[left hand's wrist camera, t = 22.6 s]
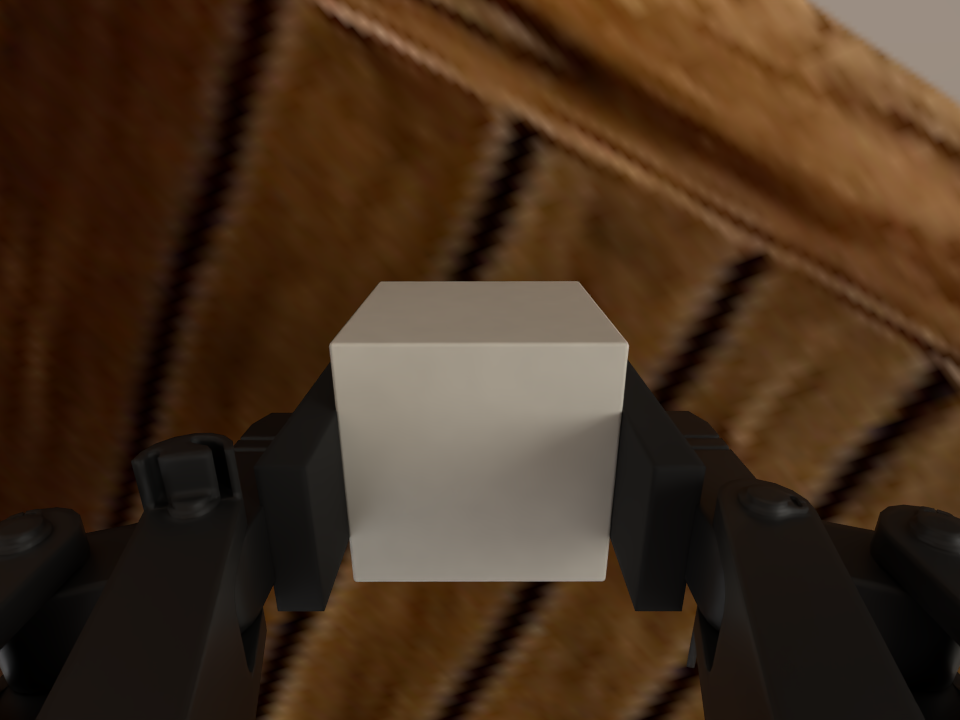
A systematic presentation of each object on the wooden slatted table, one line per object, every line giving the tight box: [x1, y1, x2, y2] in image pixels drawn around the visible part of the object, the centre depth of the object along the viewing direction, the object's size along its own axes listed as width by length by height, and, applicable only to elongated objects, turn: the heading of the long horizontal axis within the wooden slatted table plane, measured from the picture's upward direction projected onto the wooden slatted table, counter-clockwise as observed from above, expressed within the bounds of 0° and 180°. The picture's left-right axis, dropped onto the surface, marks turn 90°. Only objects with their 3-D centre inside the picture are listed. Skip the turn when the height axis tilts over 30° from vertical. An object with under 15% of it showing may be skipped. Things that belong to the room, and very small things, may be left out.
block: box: [329, 281, 629, 582], centre depth 12 cm, size 5×5×5 cm
